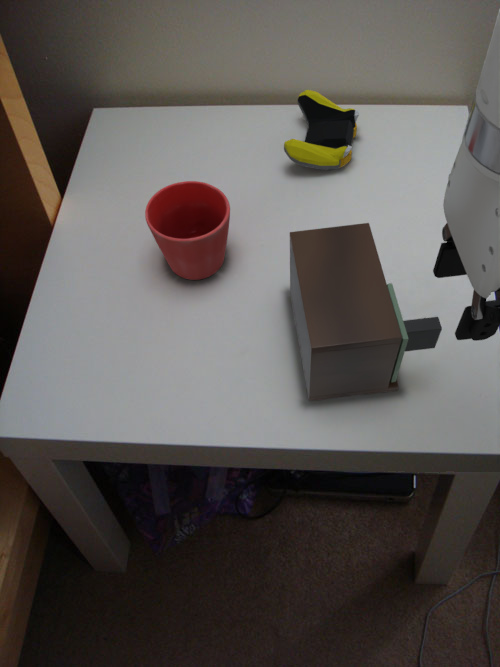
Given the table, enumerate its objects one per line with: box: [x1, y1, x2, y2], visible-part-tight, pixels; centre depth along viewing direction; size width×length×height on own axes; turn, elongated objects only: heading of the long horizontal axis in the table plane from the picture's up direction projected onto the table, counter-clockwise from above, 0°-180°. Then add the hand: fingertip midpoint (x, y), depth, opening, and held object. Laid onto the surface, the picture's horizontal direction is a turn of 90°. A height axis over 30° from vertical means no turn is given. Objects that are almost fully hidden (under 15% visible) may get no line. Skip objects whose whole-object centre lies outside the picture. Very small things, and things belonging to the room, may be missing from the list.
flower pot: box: [144, 180, 231, 281], centre depth 80 cm, size 11×11×10 cm
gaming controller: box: [283, 89, 360, 171], centre depth 93 cm, size 15×6×10 cm
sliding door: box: [386, 282, 443, 382], centre depth 68 cm, size 5×7×9 cm, turn 6°
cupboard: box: [289, 222, 402, 402], centre depth 70 cm, size 11×16×12 cm, turn 6°
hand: (462, 302), depth 51 cm, fingers open, 5 cm apart
